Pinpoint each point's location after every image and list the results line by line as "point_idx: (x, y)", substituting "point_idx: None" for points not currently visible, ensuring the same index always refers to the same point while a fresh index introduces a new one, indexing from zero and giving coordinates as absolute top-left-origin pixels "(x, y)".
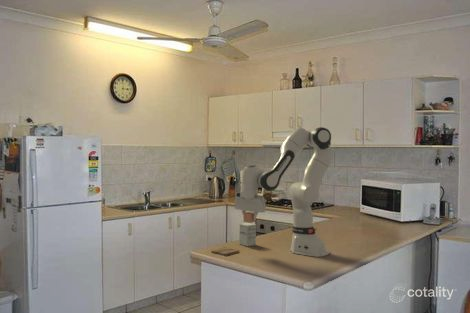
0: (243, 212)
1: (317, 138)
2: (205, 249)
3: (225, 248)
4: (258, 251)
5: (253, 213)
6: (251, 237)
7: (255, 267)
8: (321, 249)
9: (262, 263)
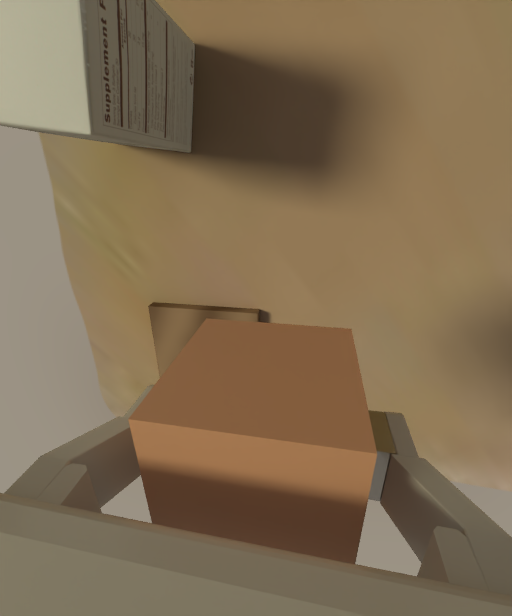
0: (98, 500)
1: None
2: (107, 366)
3: (172, 325)
4: (338, 209)
5: (360, 529)
6: (165, 86)
7: (495, 469)
8: None
9: (499, 406)
